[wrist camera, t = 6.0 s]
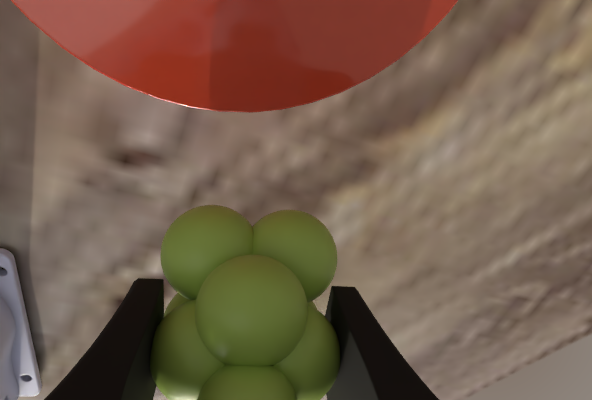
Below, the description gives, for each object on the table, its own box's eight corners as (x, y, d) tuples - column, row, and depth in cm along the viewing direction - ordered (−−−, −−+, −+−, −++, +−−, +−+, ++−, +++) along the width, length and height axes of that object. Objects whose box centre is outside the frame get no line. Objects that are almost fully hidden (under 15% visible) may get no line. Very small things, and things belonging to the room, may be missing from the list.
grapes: (309, 328, 17) (341, 559, 11) (167, 325, 16) (127, 566, 10) (337, 191, 14) (399, 407, 8) (167, 180, 13) (110, 406, 8)
